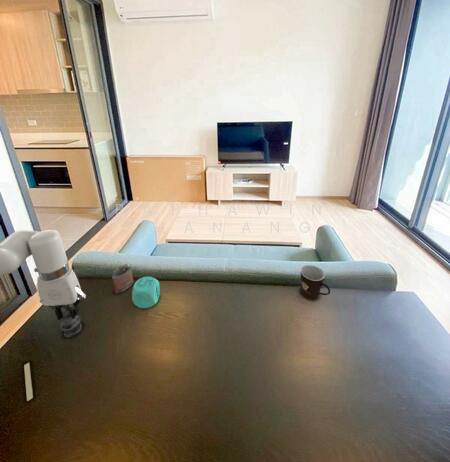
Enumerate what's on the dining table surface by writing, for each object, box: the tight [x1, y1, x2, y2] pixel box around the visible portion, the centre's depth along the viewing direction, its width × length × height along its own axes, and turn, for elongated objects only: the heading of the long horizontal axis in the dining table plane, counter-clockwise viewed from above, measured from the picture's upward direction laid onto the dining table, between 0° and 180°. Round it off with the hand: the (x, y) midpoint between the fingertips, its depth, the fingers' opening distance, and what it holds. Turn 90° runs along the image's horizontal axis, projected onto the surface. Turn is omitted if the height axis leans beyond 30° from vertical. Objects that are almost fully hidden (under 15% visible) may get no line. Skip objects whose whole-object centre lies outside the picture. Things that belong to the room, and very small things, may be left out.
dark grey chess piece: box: [60, 304, 83, 338], centre depth 80 cm, size 6×6×12 cm
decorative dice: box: [131, 276, 161, 309], centre depth 92 cm, size 8×8×8 cm
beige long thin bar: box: [23, 362, 34, 402], centre depth 67 cm, size 12×1×1 cm, turn 41°
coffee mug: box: [300, 264, 331, 300], centre depth 92 cm, size 12×9×10 cm
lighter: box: [111, 263, 135, 295], centre depth 98 cm, size 8×3×10 cm, turn 144°
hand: (68, 315), depth 80 cm, fingers closed on dark grey chess piece, 3 cm apart
